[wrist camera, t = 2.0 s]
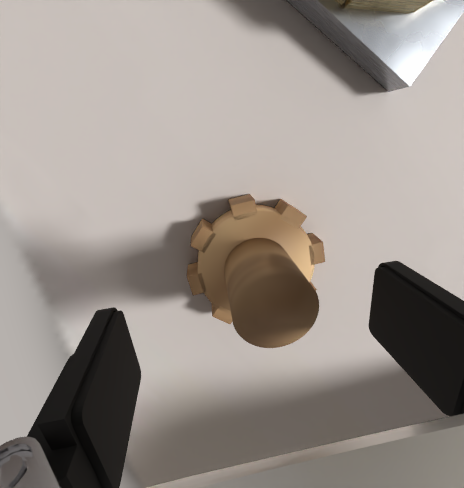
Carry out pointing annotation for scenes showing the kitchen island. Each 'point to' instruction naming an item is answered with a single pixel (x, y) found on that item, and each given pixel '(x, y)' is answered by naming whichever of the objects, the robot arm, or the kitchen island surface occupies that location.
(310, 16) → the carrier plate
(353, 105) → the kitchen island surface
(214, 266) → the planet gear
